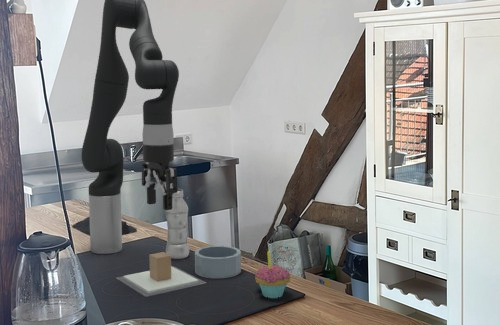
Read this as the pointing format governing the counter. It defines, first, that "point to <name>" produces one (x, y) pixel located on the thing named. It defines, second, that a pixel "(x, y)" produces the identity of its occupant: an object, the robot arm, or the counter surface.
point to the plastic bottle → (177, 227)
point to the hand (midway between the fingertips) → (159, 206)
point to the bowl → (217, 262)
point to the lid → (160, 275)
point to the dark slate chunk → (85, 227)
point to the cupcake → (272, 279)
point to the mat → (158, 291)
